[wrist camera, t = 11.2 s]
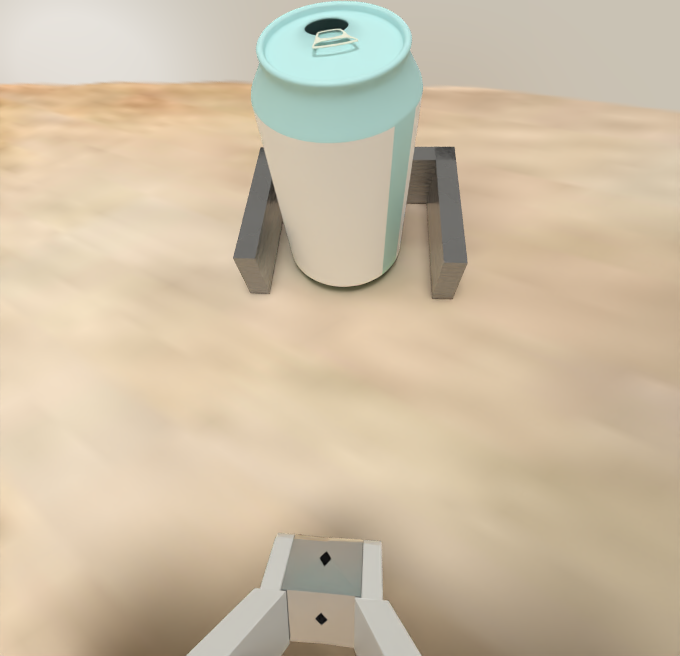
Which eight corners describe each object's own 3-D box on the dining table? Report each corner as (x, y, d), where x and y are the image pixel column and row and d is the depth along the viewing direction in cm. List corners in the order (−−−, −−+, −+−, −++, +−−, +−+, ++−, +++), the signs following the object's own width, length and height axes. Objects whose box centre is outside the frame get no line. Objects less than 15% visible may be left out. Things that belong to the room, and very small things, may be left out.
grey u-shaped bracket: (452, 298, 22) (467, 263, 19) (250, 292, 23) (233, 258, 20) (443, 191, 26) (454, 146, 23) (272, 190, 27) (260, 147, 24)
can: (271, 253, 24) (199, 48, 13) (341, 193, 26) (327, -25, 16) (350, 313, 22) (340, 120, 11) (421, 242, 24) (468, 23, 13)
